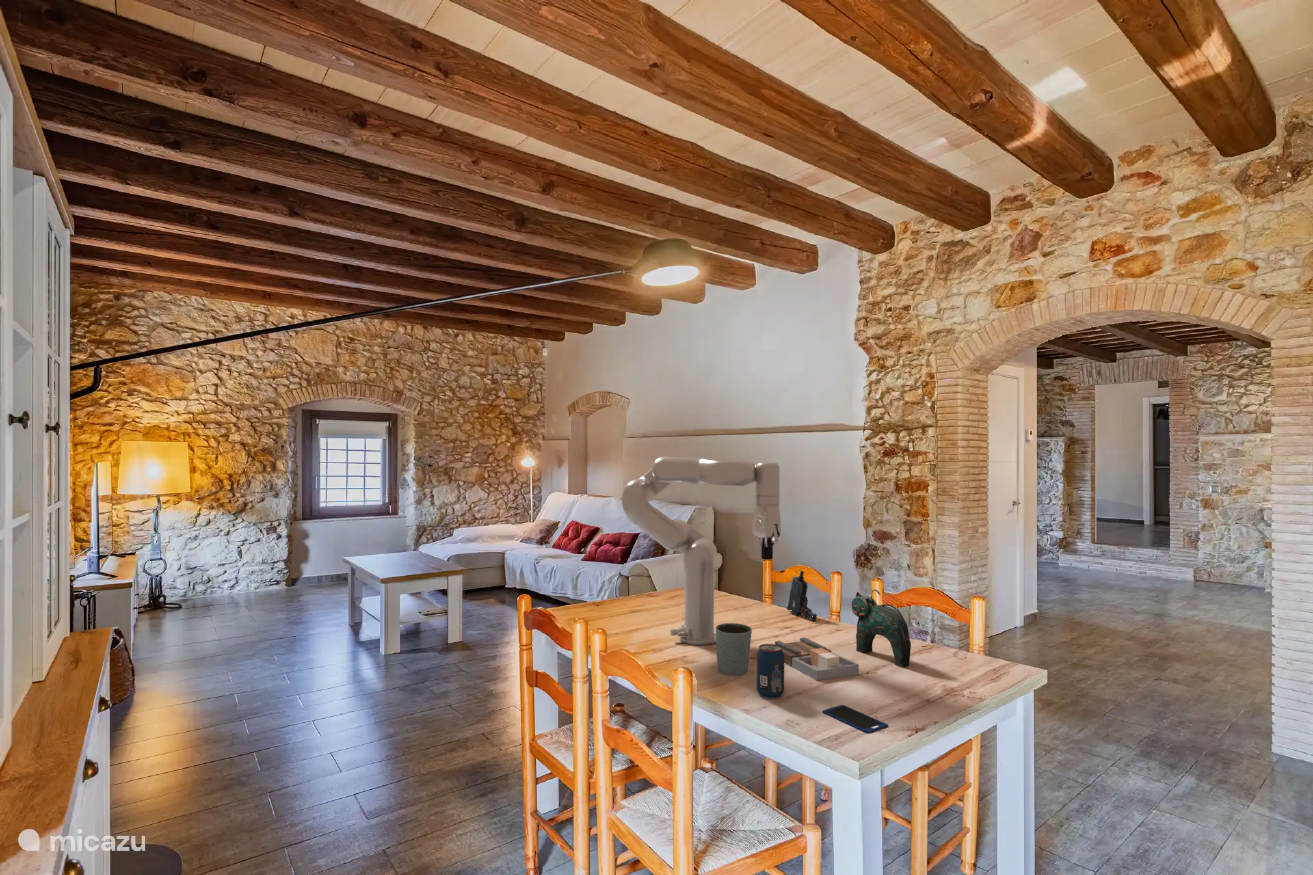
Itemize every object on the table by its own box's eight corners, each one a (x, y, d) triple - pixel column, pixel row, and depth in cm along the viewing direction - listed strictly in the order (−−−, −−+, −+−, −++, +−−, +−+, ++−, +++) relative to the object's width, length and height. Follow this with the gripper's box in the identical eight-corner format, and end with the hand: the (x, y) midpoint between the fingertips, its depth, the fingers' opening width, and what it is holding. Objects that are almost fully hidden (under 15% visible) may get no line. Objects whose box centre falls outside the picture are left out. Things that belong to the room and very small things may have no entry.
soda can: (765, 687, 172) (765, 641, 173) (789, 693, 168) (789, 646, 168) (751, 695, 167) (751, 647, 167) (775, 702, 163) (775, 653, 163)
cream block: (818, 668, 185) (826, 672, 181) (818, 653, 185) (827, 658, 181) (829, 666, 187) (838, 671, 183) (829, 652, 187) (838, 656, 183)
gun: (817, 585, 233) (793, 567, 247) (809, 628, 237) (786, 608, 251) (823, 584, 235) (799, 566, 248) (815, 627, 238) (791, 607, 252)
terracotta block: (818, 667, 185) (818, 653, 185) (810, 663, 189) (810, 649, 189) (830, 666, 187) (830, 651, 187) (821, 661, 191) (821, 647, 191)
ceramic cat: (849, 649, 205) (849, 585, 205) (865, 646, 208) (865, 583, 208) (900, 669, 187) (900, 598, 187) (916, 665, 190) (916, 596, 190)
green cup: (730, 662, 192) (731, 620, 192) (759, 670, 185) (759, 627, 185) (707, 670, 185) (708, 627, 185) (736, 679, 178) (736, 635, 178)
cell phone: (867, 735, 145) (867, 732, 145) (820, 713, 157) (820, 710, 157) (889, 728, 149) (889, 724, 149) (842, 707, 161) (842, 703, 161)
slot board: (791, 666, 189) (791, 652, 189) (770, 655, 199) (770, 641, 199) (831, 660, 194) (831, 646, 194) (809, 649, 204) (809, 636, 204)
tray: (816, 680, 178) (816, 670, 178) (792, 667, 188) (792, 657, 188) (858, 673, 183) (858, 664, 183) (832, 661, 194) (832, 652, 194)
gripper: (745, 499, 216) (744, 555, 216) (769, 503, 202) (769, 563, 202) (765, 499, 219) (764, 554, 219) (790, 502, 205) (790, 562, 205)
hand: (767, 558), depth 210 cm, fingers closed
